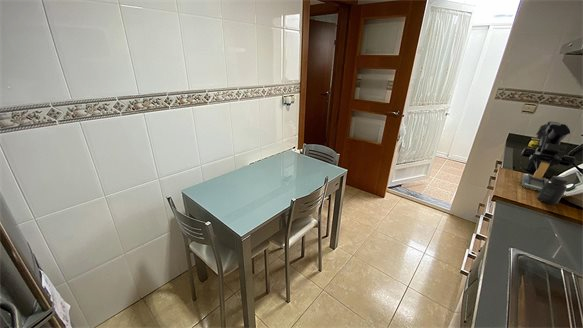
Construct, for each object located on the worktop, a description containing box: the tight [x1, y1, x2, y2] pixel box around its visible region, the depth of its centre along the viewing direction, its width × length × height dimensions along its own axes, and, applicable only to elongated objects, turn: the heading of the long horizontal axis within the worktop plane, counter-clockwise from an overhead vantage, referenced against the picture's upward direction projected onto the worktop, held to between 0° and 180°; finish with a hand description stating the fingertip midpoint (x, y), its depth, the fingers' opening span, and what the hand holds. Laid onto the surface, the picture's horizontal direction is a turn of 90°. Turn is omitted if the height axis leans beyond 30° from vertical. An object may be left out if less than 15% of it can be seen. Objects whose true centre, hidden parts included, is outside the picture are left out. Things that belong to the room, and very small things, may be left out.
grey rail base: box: [521, 173, 550, 192], centre depth 121 cm, size 16×10×3 cm, turn 138°
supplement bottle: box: [537, 175, 569, 205], centre depth 106 cm, size 7×7×12 cm
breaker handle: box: [531, 162, 549, 182], centre depth 121 cm, size 4×4×9 cm
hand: (541, 170), depth 120 cm, fingers closed on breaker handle, 3 cm apart
